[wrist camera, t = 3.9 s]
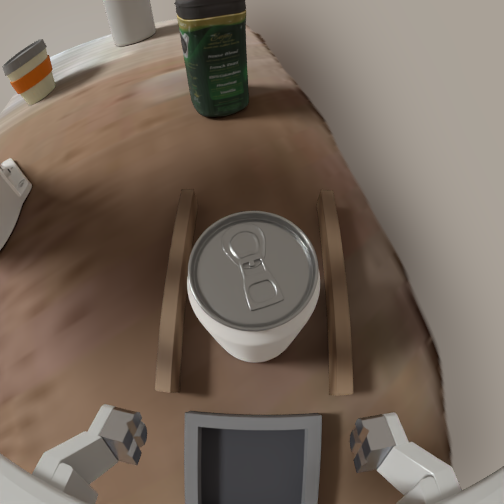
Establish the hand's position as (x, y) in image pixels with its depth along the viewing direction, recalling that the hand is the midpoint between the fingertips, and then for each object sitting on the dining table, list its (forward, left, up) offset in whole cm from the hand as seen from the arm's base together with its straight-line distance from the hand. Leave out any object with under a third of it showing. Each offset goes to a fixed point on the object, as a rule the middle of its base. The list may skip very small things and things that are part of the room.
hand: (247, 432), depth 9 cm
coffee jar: (-31, +23, -12) cm, 40 cm away
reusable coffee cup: (-81, +2, -12) cm, 82 cm away
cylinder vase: (-83, +33, -12) cm, 90 cm away
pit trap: (+4, -4, -12) cm, 14 cm away
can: (-5, +5, -12) cm, 14 cm away
